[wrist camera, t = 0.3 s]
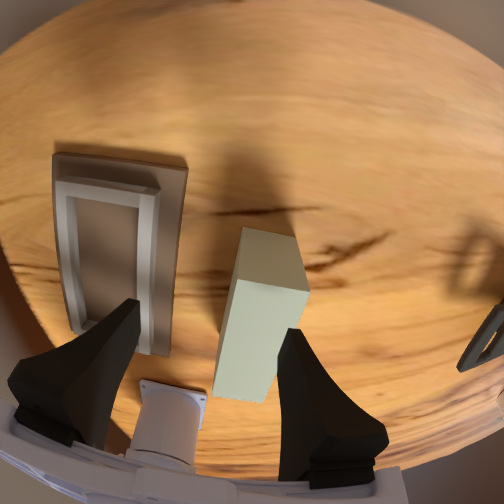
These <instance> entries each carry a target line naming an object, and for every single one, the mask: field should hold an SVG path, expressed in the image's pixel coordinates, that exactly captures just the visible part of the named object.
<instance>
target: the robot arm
mask: <svg viewBox="0 0 504 504" xmlns="http://www.w3.org/2000/svg"><path fill="white" fill-rule="evenodd" d="M140 333H141V315H140V300H135V299H131V298H128V299H126V300H125V301H124V302H123V303H122V304H120V305H119V306H118V307H117V308H116V309H115V310H113V311H112V312H111V313H110V314H109V315H107V316H106V317H105V318H104V319H102V320H101V321H100V322H99V323H97V324H96V325H95V326H93V327H92V328H90V329H89V330H88V331H86V332H85V333H83V334H82V335H80V336H79V337H77V338H75V339H74V340H72V341H70V342H68V343H66V344H64V345H62V346H60V347H58V348H56V349H53V350H51V351H48V352H45V353H43V354H40V355H37V356H33V357H29V358H26V359H22V360H20V361H19V363H18V364H17V365H16V367H15V368H14V370H13V372H12V373H11V375H10V377H9V378H8V380H7V381H8V386H9V388H10V390H11V392H12V393H13V395H14V396H15V398H16V399H17V401H18V402H19V406H18V408H17V409H16V408H15V407H14V406H13V405H12V404H10V403H8V402H6V401H5V400H3V399H2V398H0V457H1V458H2V459H4V460H6V461H7V462H9V463H10V464H12V465H14V466H15V467H17V468H18V469H20V470H22V471H23V472H25V473H27V474H28V475H30V476H32V477H34V478H35V479H37V480H39V481H41V482H43V483H44V484H46V485H48V486H50V487H52V488H54V489H56V490H58V491H60V492H62V493H64V494H66V495H68V496H71V497H72V498H75V499H77V500H79V501H81V502H84V503H86V504H409V503H408V499H407V494H406V490H405V486H404V482H403V478H402V474H401V470H400V467H399V466H395V467H389V468H383V469H379V470H376V471H373V466H374V465H375V459H374V458H375V457H376V456H377V455H378V454H380V453H381V452H382V451H383V450H384V449H385V448H386V447H387V446H388V444H389V439H388V435H387V431H386V428H385V426H384V424H382V423H381V422H379V421H378V420H376V419H375V418H373V417H372V416H370V415H369V414H368V413H366V412H365V411H364V410H363V409H361V408H360V407H359V406H358V405H356V404H355V403H354V402H353V401H352V400H351V399H350V398H349V397H348V396H347V395H346V394H345V393H344V392H343V391H342V390H341V389H340V388H339V387H338V386H337V384H336V383H335V382H334V381H333V380H332V378H331V377H330V376H329V375H328V373H327V372H326V370H325V369H324V368H323V366H322V365H321V363H320V362H319V360H318V358H317V357H316V355H315V354H314V352H313V350H312V349H311V347H310V345H309V343H308V342H307V340H306V338H305V336H304V335H303V333H302V331H301V330H300V329H294V328H288V330H287V333H286V335H285V338H284V340H283V343H282V346H281V348H280V351H279V353H278V356H277V379H278V388H279V397H280V406H281V452H280V467H279V477H278V482H277V481H253V480H239V479H229V478H220V477H212V476H205V475H198V474H196V468H197V467H194V458H195V451H196V444H197V437H198V430H200V429H201V427H202V421H203V416H204V411H205V406H206V401H207V394H206V393H204V392H198V391H193V390H188V389H183V388H178V387H174V386H169V385H165V384H160V383H156V382H152V381H148V380H144V379H141V380H140V391H141V399H142V407H141V410H140V413H139V417H138V420H137V424H136V427H135V431H134V434H133V438H132V442H131V446H130V449H127V452H126V456H125V455H123V454H119V455H117V456H116V455H113V454H110V453H107V452H104V444H105V439H106V434H107V429H108V424H109V420H110V416H111V412H112V408H113V404H114V401H115V397H116V394H117V391H118V388H119V385H120V382H121V380H122V378H123V376H124V373H125V371H126V369H127V367H128V365H129V362H130V360H131V358H132V356H133V354H134V351H135V349H136V346H137V343H138V340H139V337H140Z"/></svg>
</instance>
